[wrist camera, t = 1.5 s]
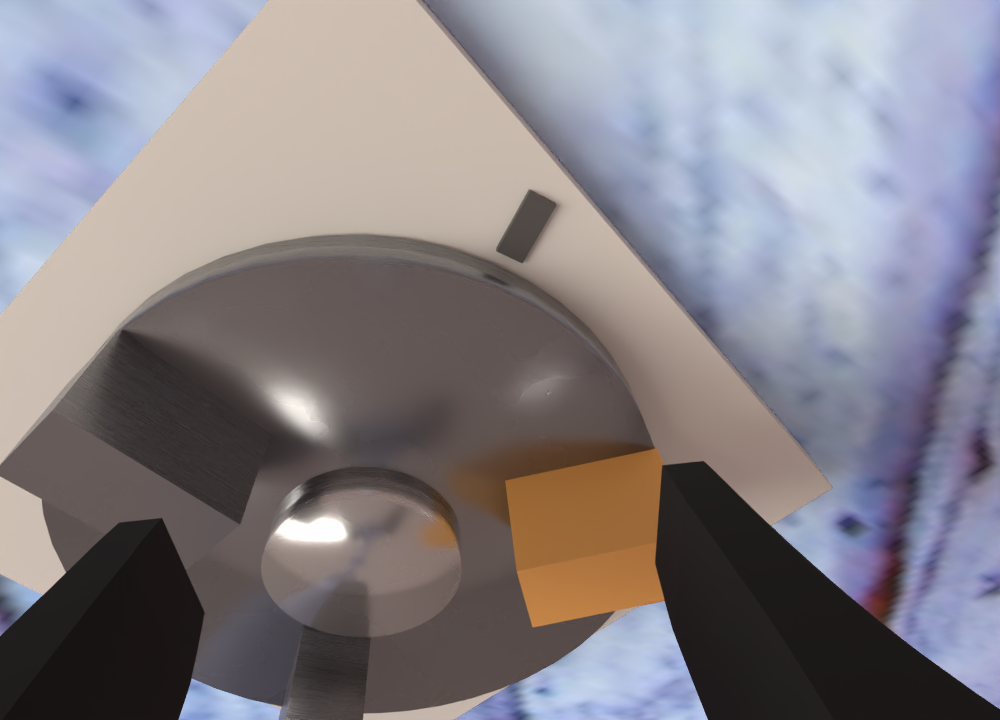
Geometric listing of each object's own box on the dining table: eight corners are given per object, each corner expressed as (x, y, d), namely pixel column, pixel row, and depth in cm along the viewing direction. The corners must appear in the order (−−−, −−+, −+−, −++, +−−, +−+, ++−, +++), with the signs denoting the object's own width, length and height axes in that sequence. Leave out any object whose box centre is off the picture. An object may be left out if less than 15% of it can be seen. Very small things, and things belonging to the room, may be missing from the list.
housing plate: (810, 456, 23) (836, 492, 21) (388, 723, 29) (385, 765, 27) (351, -83, 14) (340, -86, 12) (-119, 462, 20) (-162, 503, 18)
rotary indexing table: (748, 493, 21) (820, 620, 17) (383, 724, 26) (374, 865, 22) (349, 79, 14) (316, 133, 10) (-49, 502, 19) (-178, 651, 15)
